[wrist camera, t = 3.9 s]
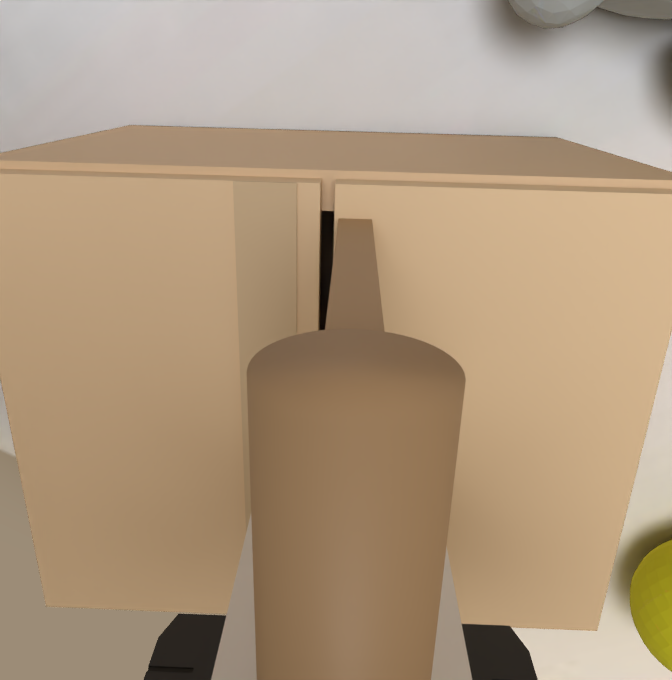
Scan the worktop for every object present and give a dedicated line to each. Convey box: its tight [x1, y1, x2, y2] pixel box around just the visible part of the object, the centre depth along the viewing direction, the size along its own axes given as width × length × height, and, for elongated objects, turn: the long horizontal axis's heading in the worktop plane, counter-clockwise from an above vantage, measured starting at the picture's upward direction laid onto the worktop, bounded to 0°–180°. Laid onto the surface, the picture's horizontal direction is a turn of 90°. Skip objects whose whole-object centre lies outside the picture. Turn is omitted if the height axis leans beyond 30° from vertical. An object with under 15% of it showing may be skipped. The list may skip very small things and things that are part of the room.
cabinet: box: [0, 125, 672, 614], centre depth 23 cm, size 18×14×13 cm
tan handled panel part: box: [247, 179, 672, 680], centre depth 13 cm, size 9×14×11 cm
